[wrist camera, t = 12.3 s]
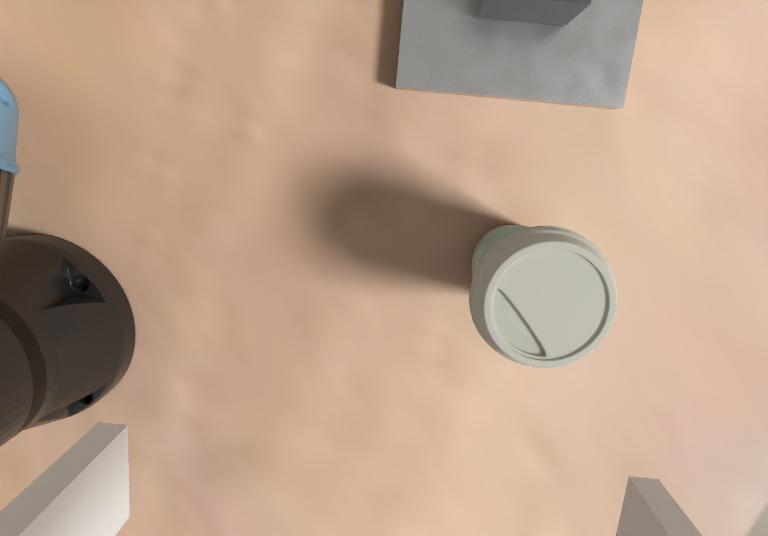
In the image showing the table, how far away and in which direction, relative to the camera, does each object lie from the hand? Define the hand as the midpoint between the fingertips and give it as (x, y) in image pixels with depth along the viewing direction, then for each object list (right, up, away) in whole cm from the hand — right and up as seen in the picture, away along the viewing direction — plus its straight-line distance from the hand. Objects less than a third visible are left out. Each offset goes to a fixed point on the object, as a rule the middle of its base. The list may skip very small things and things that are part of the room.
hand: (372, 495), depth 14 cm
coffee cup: (+10, +6, +28) cm, 30 cm away
